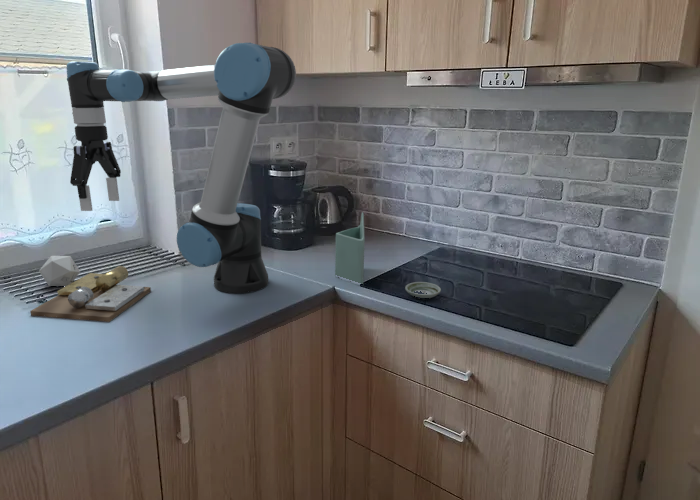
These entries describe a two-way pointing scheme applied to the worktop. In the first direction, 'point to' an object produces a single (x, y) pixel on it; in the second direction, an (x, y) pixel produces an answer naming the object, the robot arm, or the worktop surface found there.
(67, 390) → the worktop surface
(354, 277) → the planter
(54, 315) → the mount board
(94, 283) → the loose leaf
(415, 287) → the saucer
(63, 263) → the die
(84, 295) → the fixed leaf
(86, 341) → the worktop surface
